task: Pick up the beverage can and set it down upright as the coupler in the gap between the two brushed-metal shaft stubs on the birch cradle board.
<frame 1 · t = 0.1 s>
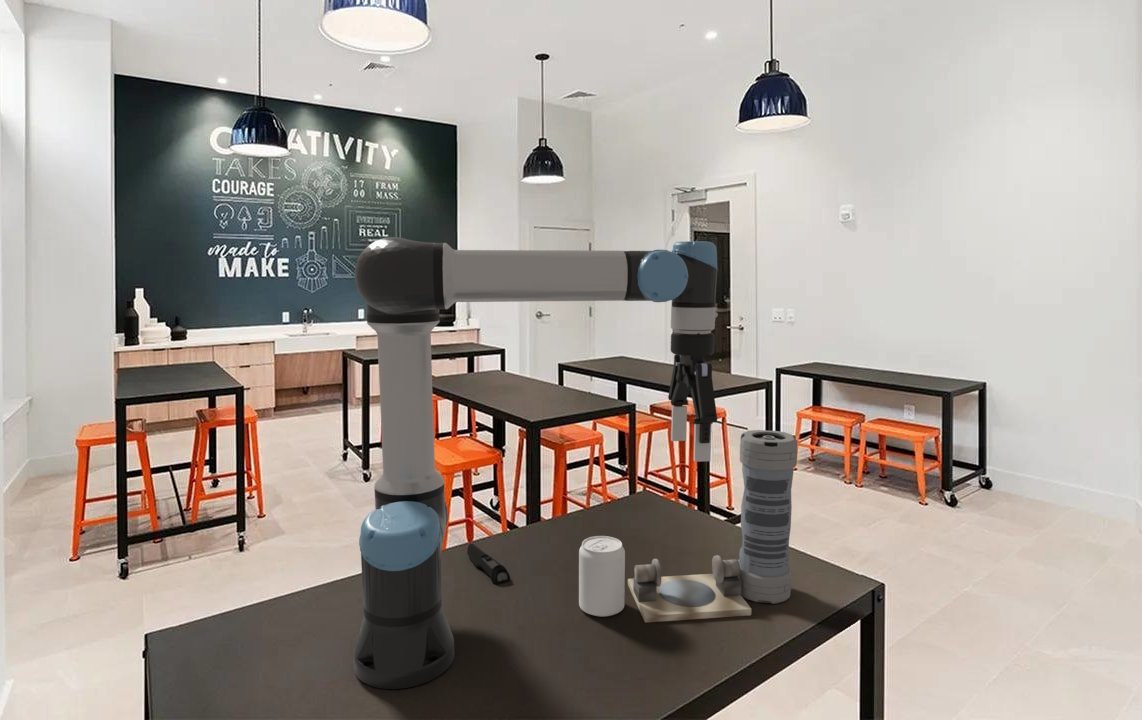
hand: (689, 450, 119), 28 cm above the table, fingers open, 13 cm apart
beverage can: (601, 608, 119), on the table
electric trimmer: (486, 571, 135), on the table
canister: (762, 592, 125), on the table
cradle: (686, 599, 122), on the table
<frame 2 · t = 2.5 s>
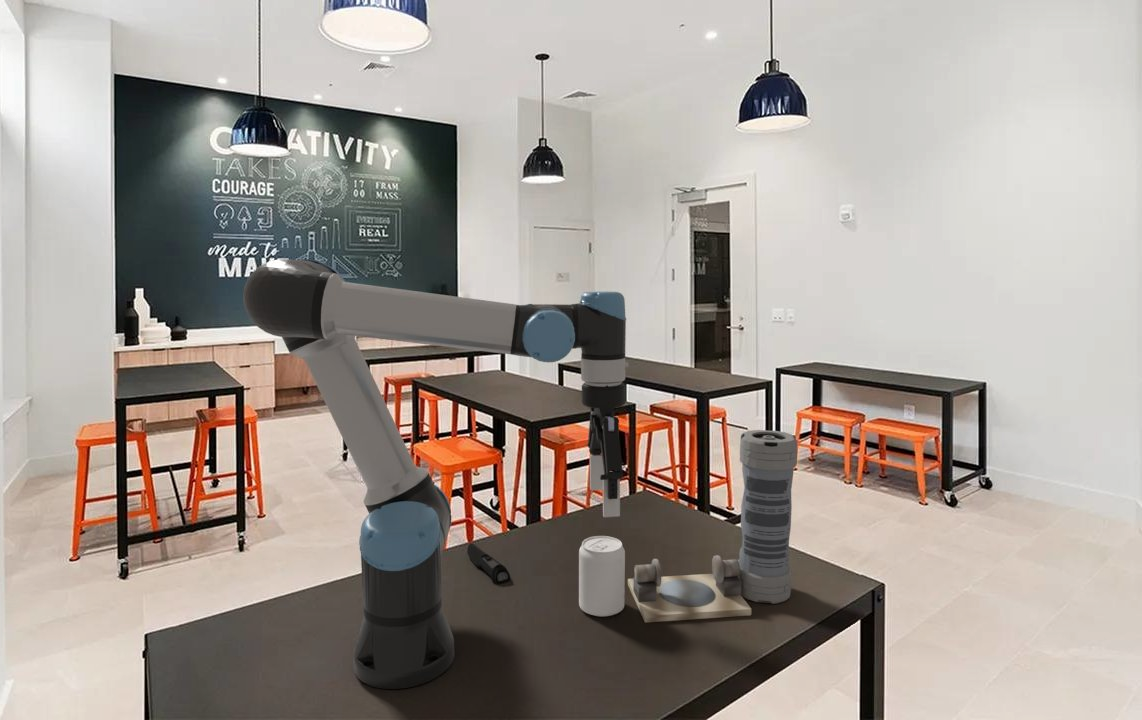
hand: (604, 502, 117), 20 cm above the table, fingers open, 13 cm apart
nothing on the table moved.
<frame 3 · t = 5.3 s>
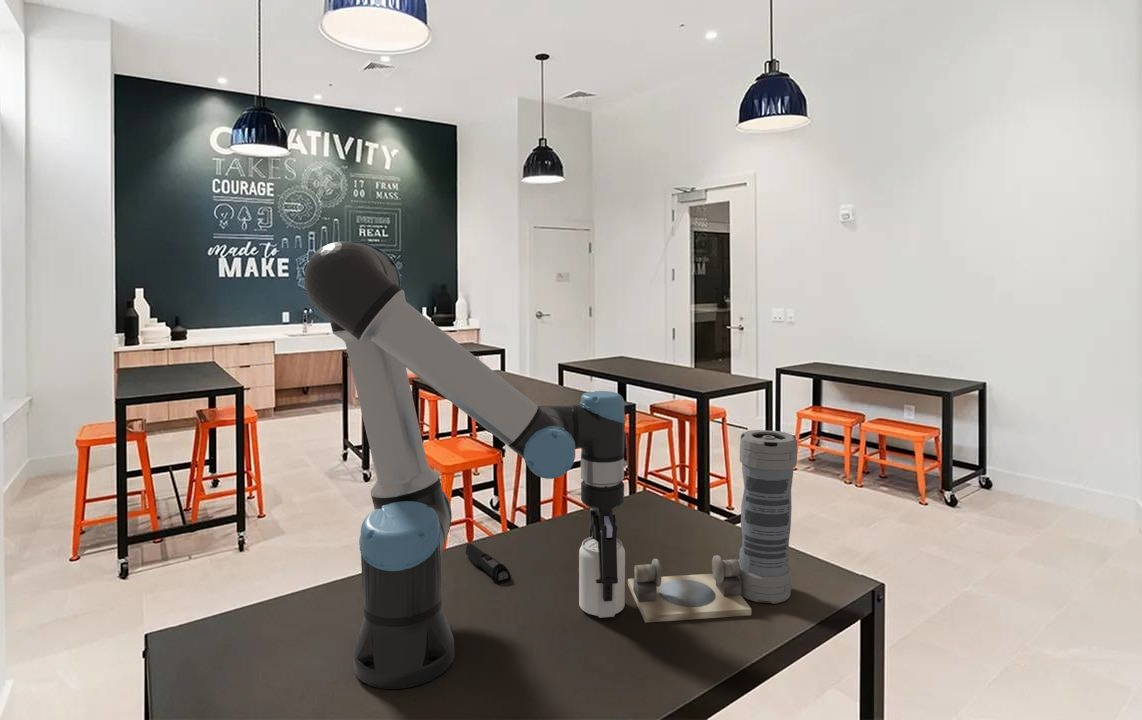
hand: (601, 603, 119), 1 cm above the table, fingers closed on beverage can, 8 cm apart
beverage can: (601, 608, 119), on the table, touching gripper
everything else where it was.
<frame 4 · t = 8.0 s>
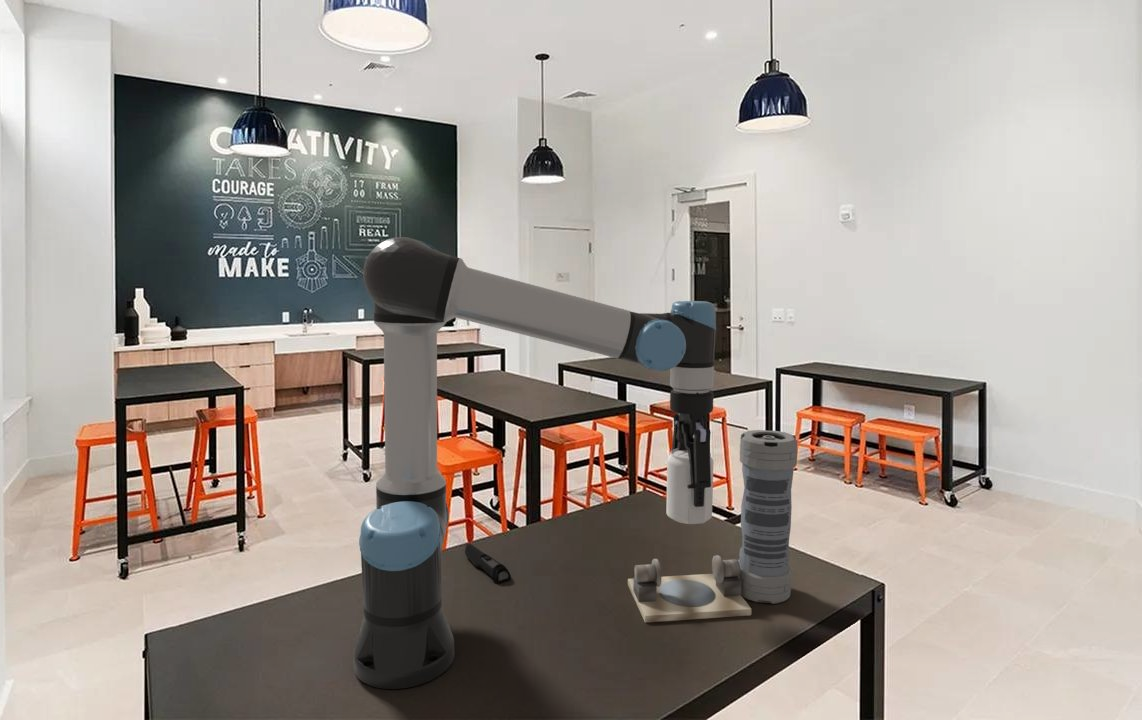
hand: (688, 513, 120), 16 cm above the table, fingers closed on beverage can, 8 cm apart
beverage can: (688, 518, 120), point 15 cm above the table, touching gripper
everything else where it was.
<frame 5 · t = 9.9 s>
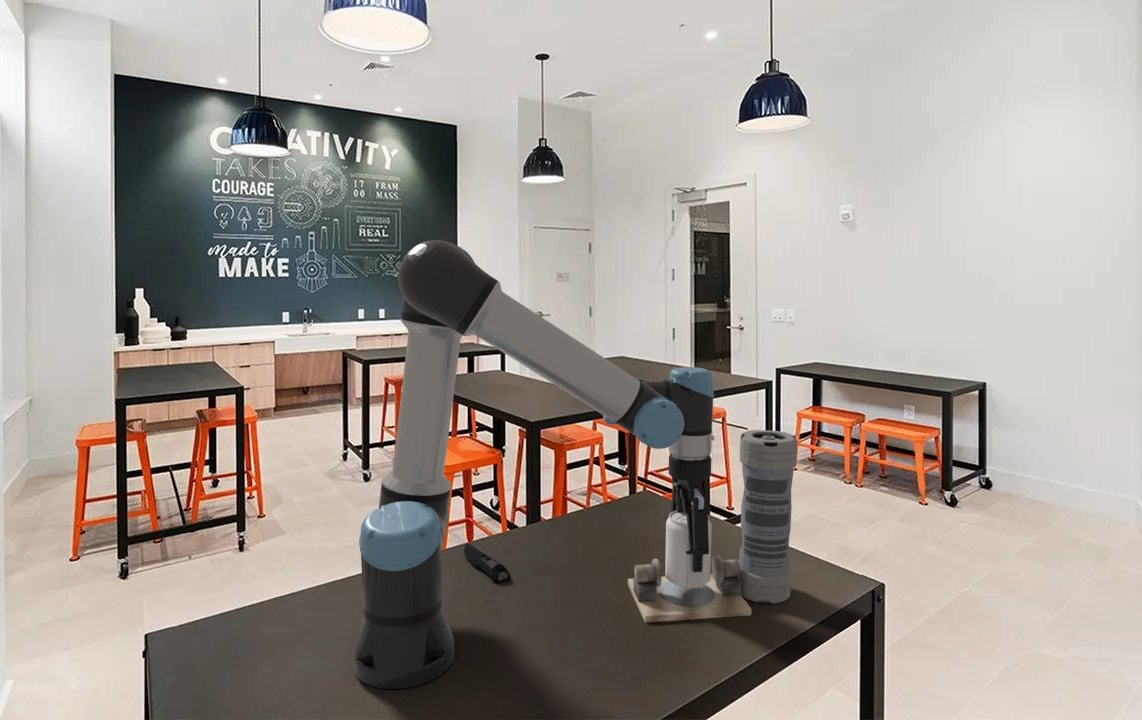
hand: (687, 575, 122), 5 cm above the table, fingers closed on beverage can, 8 cm apart
beverage can: (687, 580, 122), point 4 cm above the table, touching gripper
everything else where it was.
when the fingers open (4 cm above the table, at t = 11.0 s): beverage can drops 2 cm, resting on cradle.
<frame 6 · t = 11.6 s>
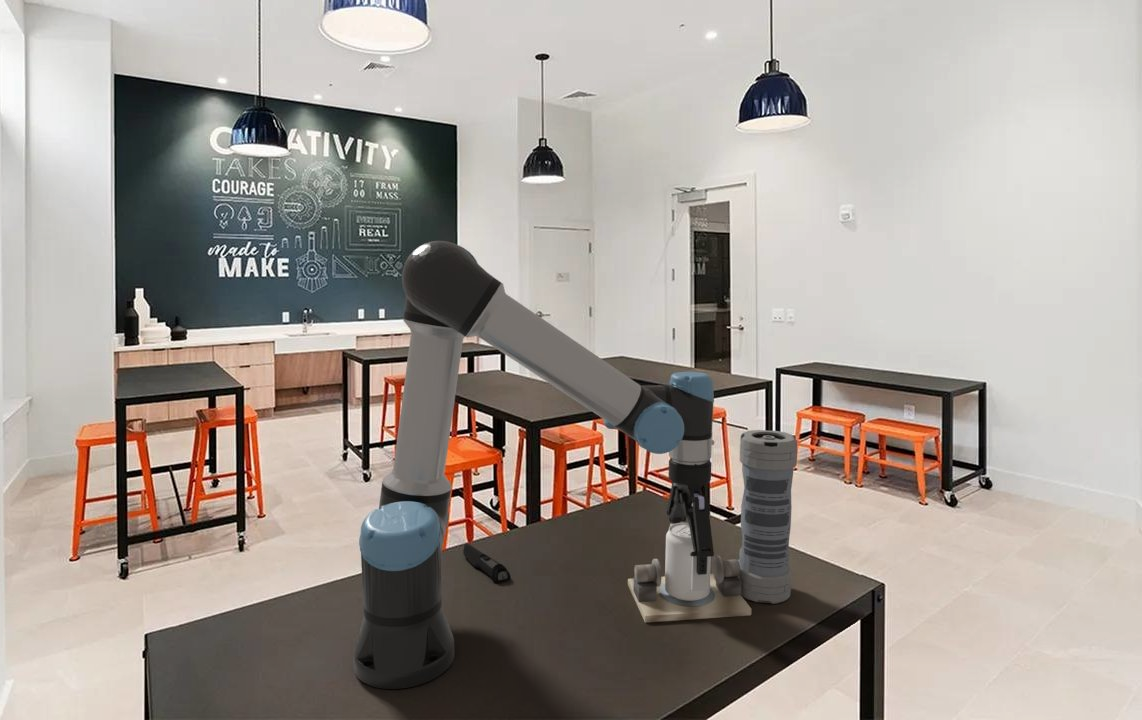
hand: (687, 572, 122), 5 cm above the table, fingers open, 13 cm apart
beverage can: (687, 593, 122), point 1 cm above the table, touching cradle
everything else where it was.
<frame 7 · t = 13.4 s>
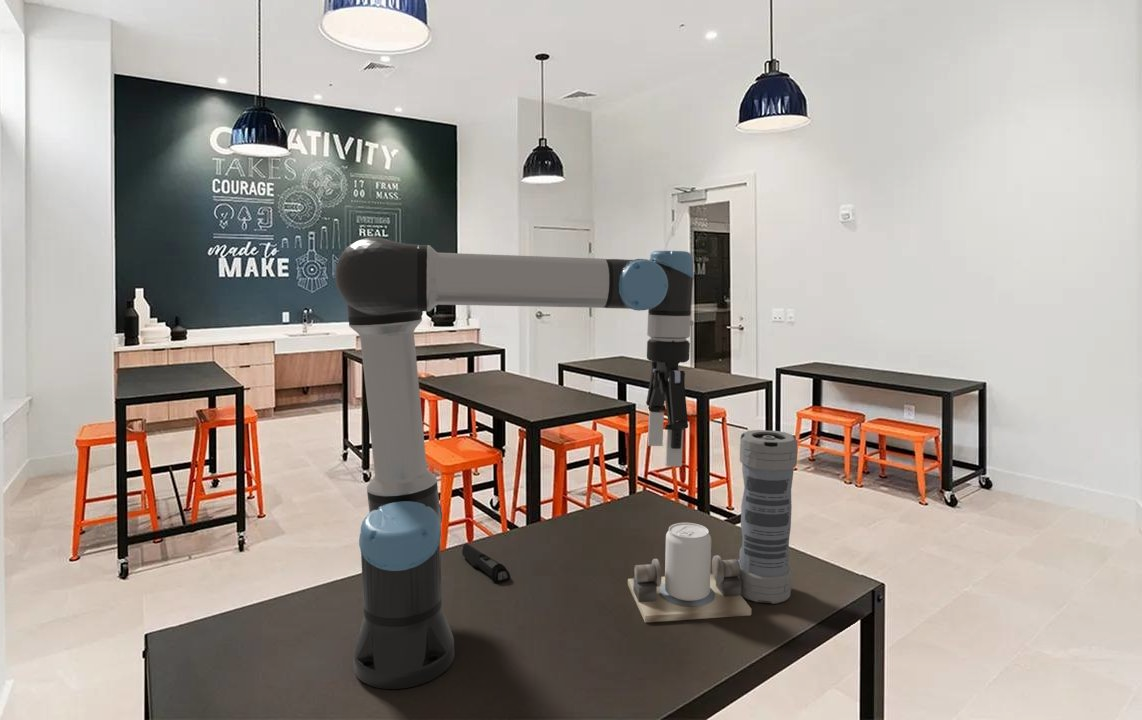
hand: (663, 455, 121), 26 cm above the table, fingers open, 13 cm apart
nothing on the table moved.
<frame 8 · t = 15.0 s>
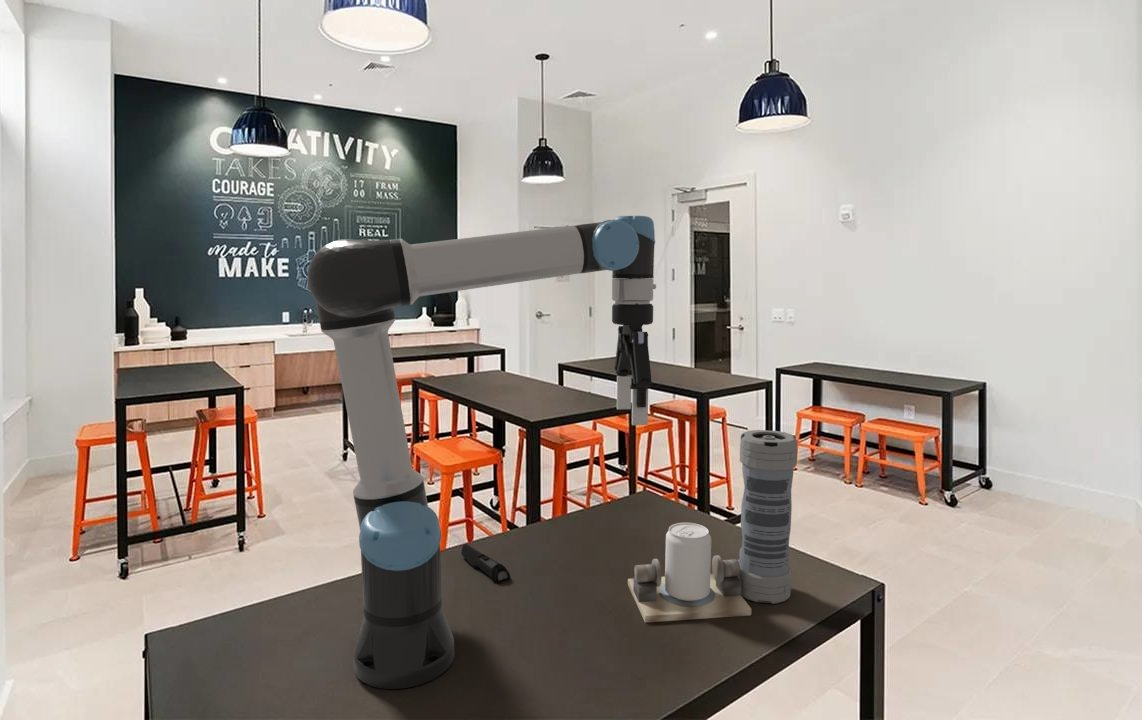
hand: (631, 416, 125), 33 cm above the table, fingers open, 13 cm apart
nothing on the table moved.
at the end: beverage can 0.3 cm off-centre on the cradle, point 1.2 cm above the cradle's base; beverage can tilted 0°; beverage can touching cradle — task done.
